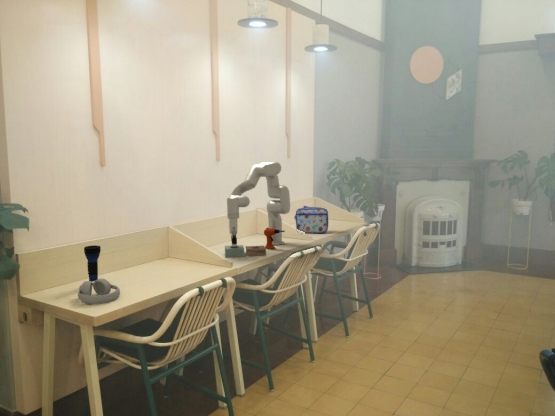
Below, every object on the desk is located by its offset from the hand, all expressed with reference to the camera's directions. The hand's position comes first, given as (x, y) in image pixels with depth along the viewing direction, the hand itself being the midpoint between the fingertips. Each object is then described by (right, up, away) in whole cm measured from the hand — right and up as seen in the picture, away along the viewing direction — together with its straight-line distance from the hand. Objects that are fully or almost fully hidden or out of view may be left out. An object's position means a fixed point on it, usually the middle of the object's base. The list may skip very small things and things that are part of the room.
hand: (234, 242), depth 324 cm
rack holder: (0, -8, +1) cm, 8 cm away
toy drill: (+26, -6, +15) cm, 31 cm away
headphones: (-56, -20, -90) cm, 108 cm away
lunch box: (+56, +2, +78) cm, 96 cm away
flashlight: (-66, -17, -66) cm, 95 cm away
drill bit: (0, -7, +1) cm, 7 cm away
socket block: (+14, -7, +3) cm, 16 cm away
